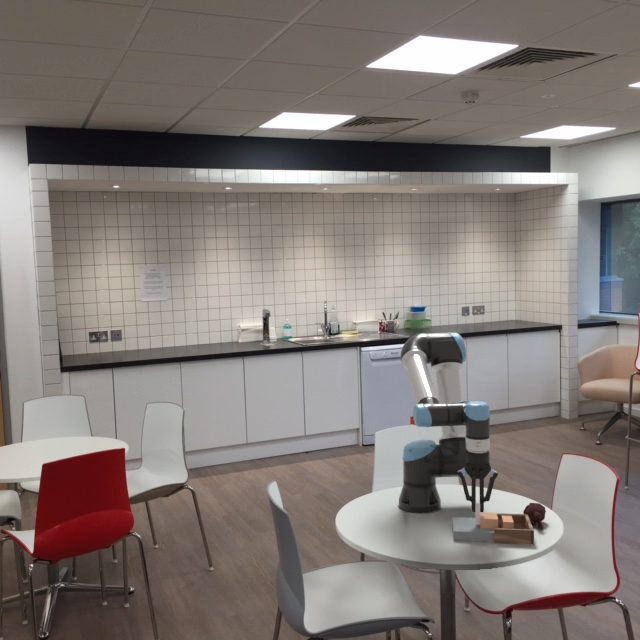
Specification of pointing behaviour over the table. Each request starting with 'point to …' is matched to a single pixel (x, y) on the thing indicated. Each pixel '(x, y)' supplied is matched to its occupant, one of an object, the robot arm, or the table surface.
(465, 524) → the board
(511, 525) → the tile
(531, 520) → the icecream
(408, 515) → the table surface
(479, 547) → the table surface
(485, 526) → the tile
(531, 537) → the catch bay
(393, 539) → the table surface
